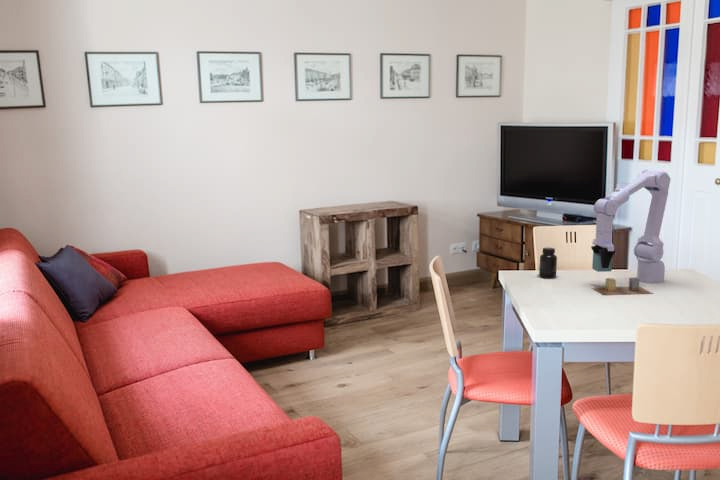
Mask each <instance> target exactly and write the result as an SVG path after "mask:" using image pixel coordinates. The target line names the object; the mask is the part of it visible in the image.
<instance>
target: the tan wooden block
mask: <svg viewBox="0 0 720 480" xmlns="http://www.w3.org/2000/svg"><path fill="white" fill-rule="evenodd" d="M616 284H617V280H616V279H615V278H613V277H611V278H610V277H609V278H607V277H606V278H605V290H606V291H607V292H615V287H617V286H616Z"/></svg>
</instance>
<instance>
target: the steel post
mask: <svg viewBox="0 0 720 480" xmlns="http://www.w3.org/2000/svg"><path fill="white" fill-rule="evenodd" d="M628 280H629V281H628V287H629V290H630V291H639V286H640V282H639V279H638V278H637V277H629V279H628Z"/></svg>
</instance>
